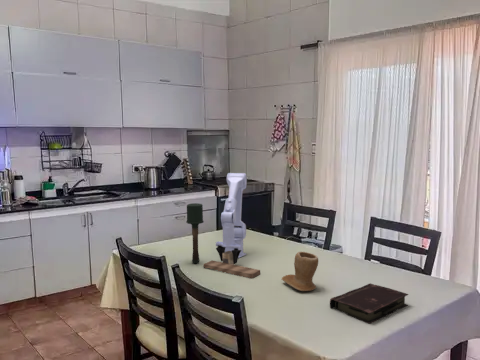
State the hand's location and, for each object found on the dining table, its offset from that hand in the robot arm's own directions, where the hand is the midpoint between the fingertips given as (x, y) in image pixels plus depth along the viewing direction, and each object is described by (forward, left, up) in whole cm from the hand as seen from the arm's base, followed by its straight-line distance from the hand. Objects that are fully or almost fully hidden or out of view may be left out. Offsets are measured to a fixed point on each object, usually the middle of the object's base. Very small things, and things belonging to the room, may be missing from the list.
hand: (228, 262), depth 216 cm
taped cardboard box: (0, 0, -2) cm, 2 cm away
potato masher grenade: (-16, -6, -2) cm, 17 cm away
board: (+6, -7, -2) cm, 9 cm away
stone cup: (+43, -7, -2) cm, 44 cm away
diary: (+74, -13, -2) cm, 75 cm away
